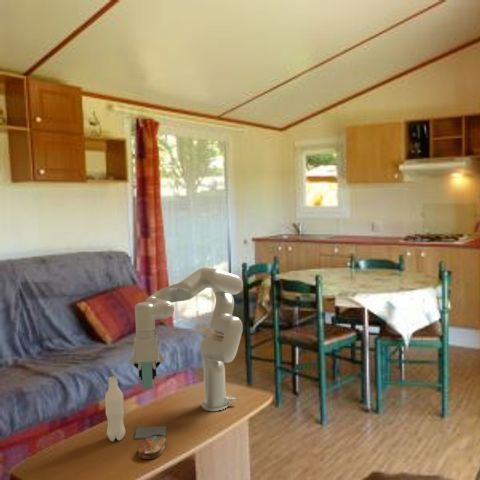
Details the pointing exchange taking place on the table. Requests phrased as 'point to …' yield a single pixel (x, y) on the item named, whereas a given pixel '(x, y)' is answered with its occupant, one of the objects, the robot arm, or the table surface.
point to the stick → (147, 375)
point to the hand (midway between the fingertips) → (147, 378)
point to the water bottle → (114, 410)
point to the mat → (149, 432)
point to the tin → (152, 446)
